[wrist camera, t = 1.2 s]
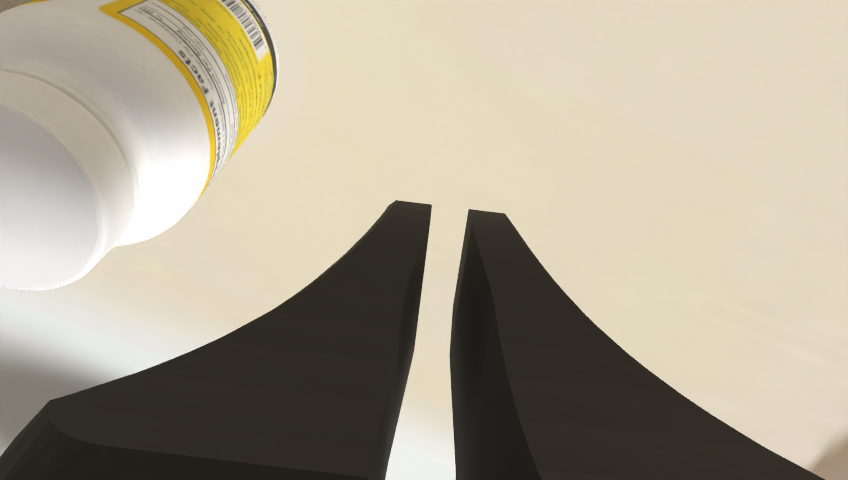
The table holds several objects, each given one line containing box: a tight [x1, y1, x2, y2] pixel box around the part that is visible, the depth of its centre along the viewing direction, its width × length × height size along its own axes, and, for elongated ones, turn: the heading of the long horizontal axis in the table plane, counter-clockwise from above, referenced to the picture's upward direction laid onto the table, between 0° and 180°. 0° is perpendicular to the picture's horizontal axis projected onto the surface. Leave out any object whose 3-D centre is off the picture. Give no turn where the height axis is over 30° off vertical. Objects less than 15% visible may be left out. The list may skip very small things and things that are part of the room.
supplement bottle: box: [0, 0, 279, 290], centre depth 15 cm, size 5×5×10 cm
